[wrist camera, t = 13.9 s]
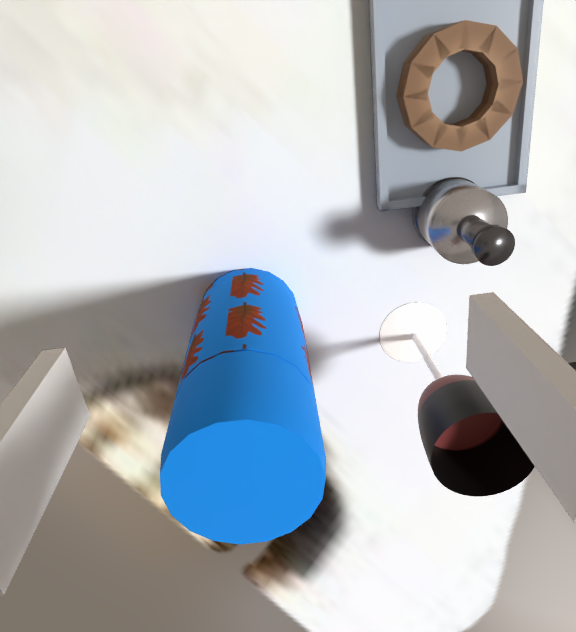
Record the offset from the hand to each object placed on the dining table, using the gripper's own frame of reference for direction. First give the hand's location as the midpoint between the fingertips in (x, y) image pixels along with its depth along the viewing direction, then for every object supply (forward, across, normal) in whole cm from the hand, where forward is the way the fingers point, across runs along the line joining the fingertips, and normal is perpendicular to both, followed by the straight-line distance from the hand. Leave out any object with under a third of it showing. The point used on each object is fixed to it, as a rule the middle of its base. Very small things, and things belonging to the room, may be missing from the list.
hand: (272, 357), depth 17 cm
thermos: (+35, -4, -15) cm, 38 cm away
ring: (+34, +18, +5) cm, 39 cm away
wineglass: (+35, +14, -20) cm, 43 cm away
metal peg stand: (+35, +18, -6) cm, 39 cm away
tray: (+35, +18, +5) cm, 39 cm away
